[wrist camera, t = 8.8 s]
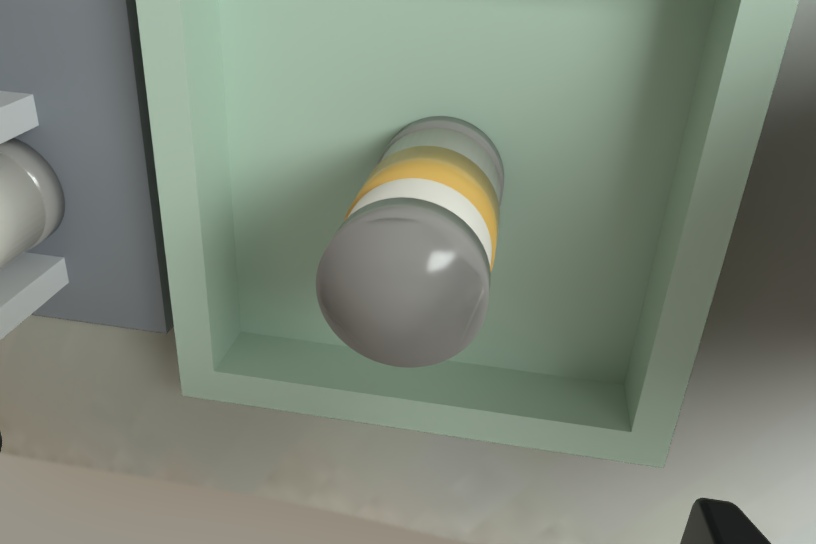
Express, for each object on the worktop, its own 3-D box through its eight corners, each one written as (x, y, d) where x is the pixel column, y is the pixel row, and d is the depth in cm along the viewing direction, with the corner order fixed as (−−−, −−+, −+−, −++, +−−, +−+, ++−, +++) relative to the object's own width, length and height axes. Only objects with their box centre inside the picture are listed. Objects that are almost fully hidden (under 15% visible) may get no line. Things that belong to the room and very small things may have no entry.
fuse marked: (511, 122, 17) (497, 225, 12) (497, 241, 19) (478, 378, 14) (382, 109, 18) (314, 204, 13) (378, 226, 19) (315, 355, 14)
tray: (784, -102, 15) (827, -100, 13) (650, 405, 21) (663, 468, 19) (177, -139, 16) (119, -142, 14) (218, 344, 23) (182, 395, 20)
